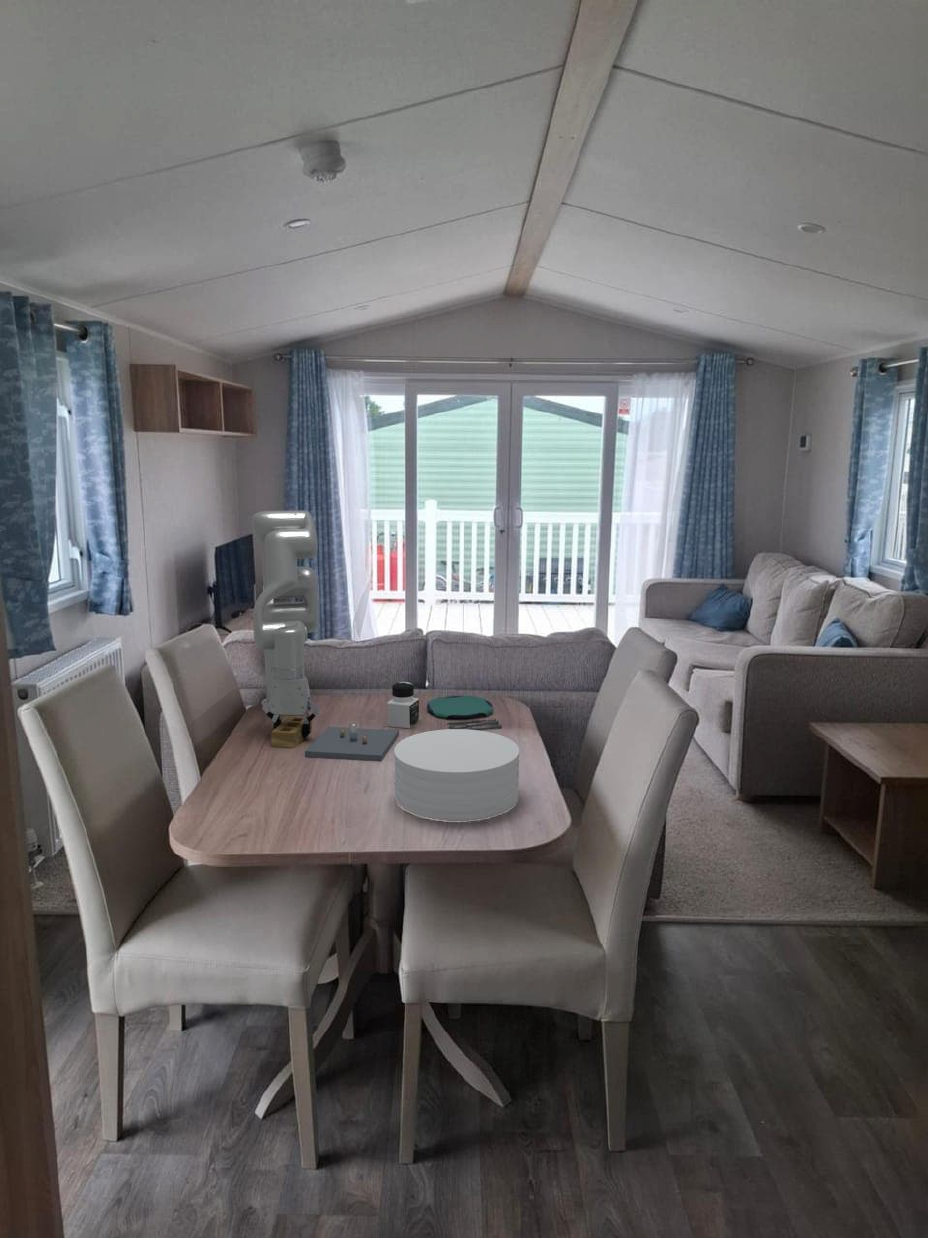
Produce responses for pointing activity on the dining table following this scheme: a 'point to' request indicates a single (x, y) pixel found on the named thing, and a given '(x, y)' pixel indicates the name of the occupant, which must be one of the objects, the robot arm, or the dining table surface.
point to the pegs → (353, 733)
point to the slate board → (352, 744)
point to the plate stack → (456, 774)
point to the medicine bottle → (403, 706)
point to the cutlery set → (463, 710)
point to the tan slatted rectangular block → (289, 732)
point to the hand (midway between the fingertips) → (292, 735)
